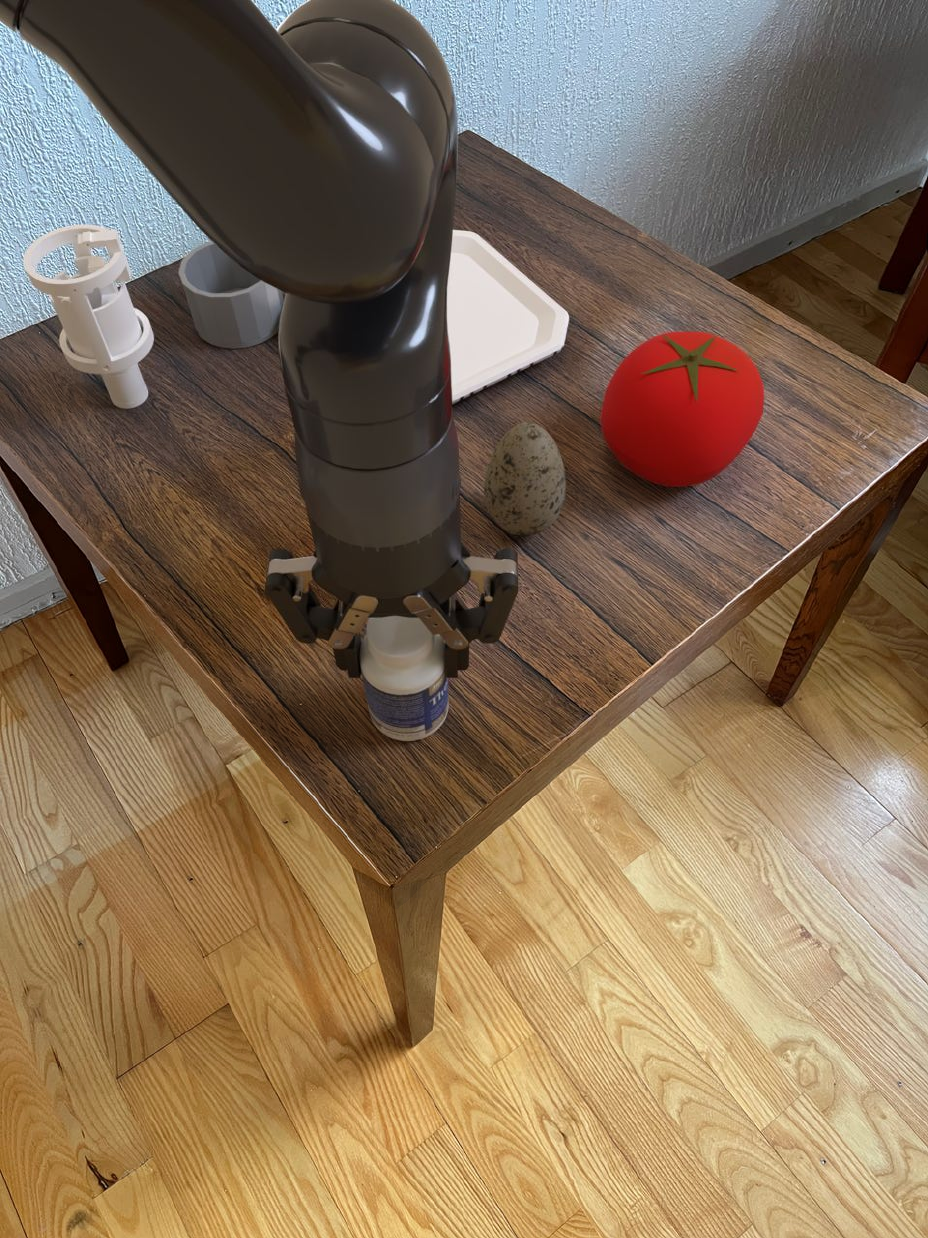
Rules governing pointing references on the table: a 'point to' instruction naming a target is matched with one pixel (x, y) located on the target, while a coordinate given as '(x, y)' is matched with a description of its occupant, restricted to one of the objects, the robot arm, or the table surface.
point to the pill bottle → (404, 677)
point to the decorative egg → (525, 481)
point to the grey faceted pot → (228, 299)
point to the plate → (495, 317)
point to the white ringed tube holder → (96, 310)
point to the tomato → (682, 407)
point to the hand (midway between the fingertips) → (403, 665)
